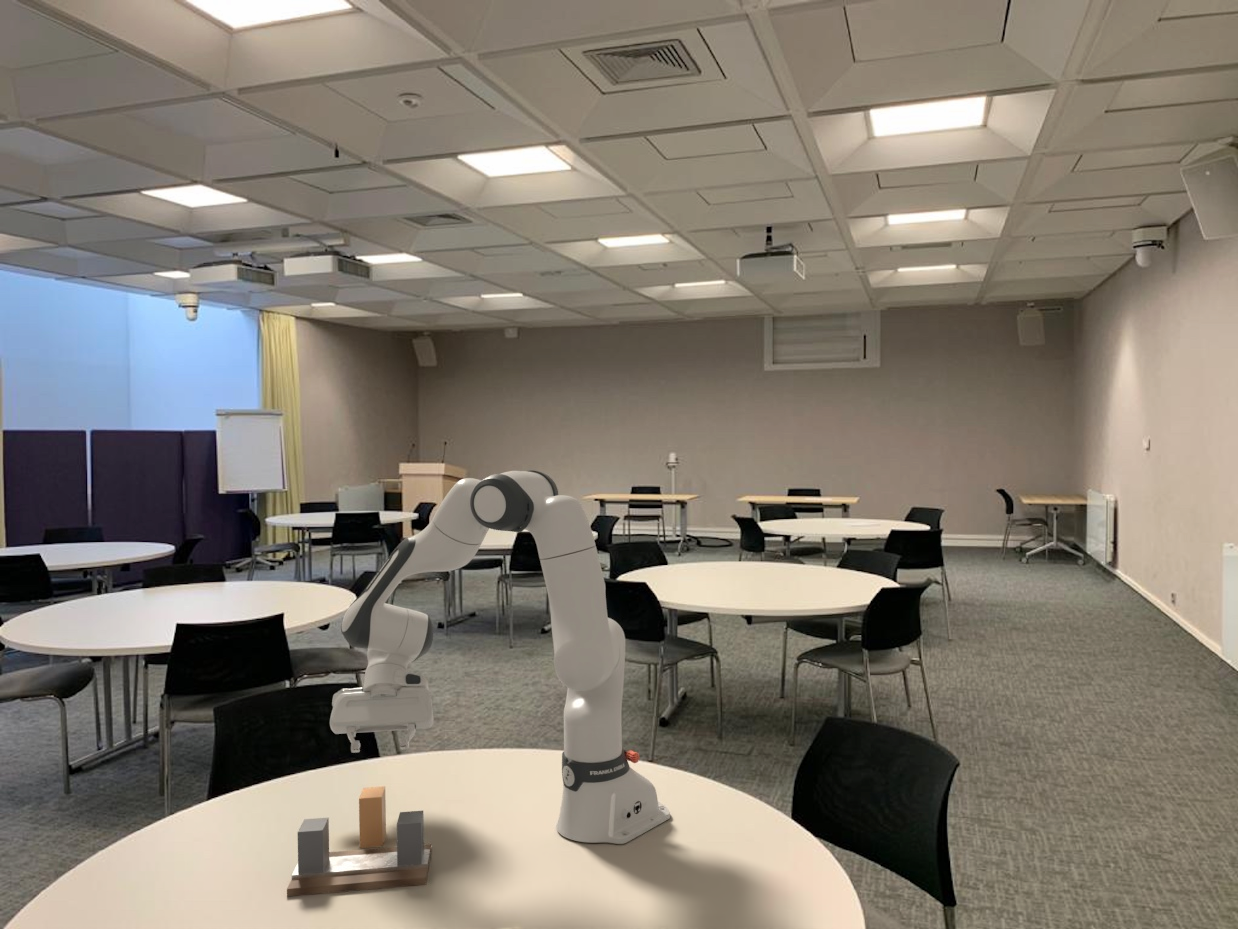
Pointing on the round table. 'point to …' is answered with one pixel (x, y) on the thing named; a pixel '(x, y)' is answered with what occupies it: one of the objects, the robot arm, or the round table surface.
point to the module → (372, 817)
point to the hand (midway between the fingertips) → (379, 749)
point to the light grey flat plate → (363, 864)
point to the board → (359, 877)
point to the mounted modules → (317, 842)
